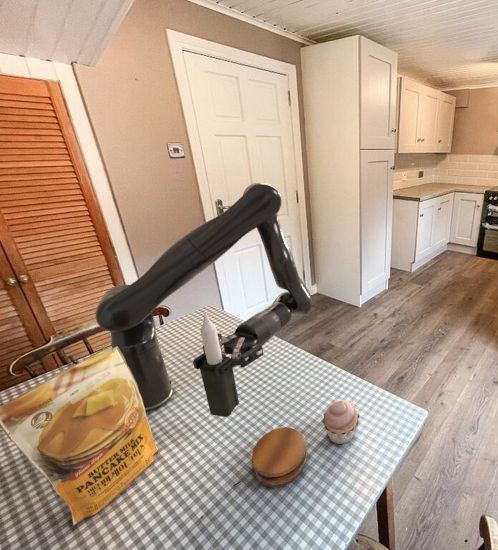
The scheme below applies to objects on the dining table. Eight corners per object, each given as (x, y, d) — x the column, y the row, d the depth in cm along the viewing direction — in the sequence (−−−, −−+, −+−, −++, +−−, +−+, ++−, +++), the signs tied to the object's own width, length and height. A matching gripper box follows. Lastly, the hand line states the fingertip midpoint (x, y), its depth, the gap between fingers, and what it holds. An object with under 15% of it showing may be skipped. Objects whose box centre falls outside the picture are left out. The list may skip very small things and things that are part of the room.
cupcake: (368, 434, 74) (369, 402, 70) (337, 458, 68) (336, 424, 64) (345, 411, 80) (344, 381, 76) (315, 431, 74) (312, 399, 71)
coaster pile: (243, 485, 62) (240, 470, 60) (266, 437, 73) (264, 423, 71) (298, 491, 61) (296, 477, 59) (313, 442, 72) (312, 428, 70)
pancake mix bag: (49, 524, 55) (-23, 407, 45) (150, 439, 72) (114, 339, 62) (72, 539, 53) (3, 419, 43) (171, 448, 70) (138, 345, 60)
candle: (228, 417, 68) (207, 321, 59) (208, 414, 69) (184, 318, 60) (241, 401, 73) (224, 309, 63) (222, 397, 74) (202, 306, 64)
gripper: (235, 311, 79) (177, 346, 65) (281, 322, 75) (229, 362, 60) (239, 335, 82) (184, 374, 68) (283, 347, 77) (235, 392, 63)
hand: (206, 369), depth 64 cm, fingers closed on candle, 5 cm apart
